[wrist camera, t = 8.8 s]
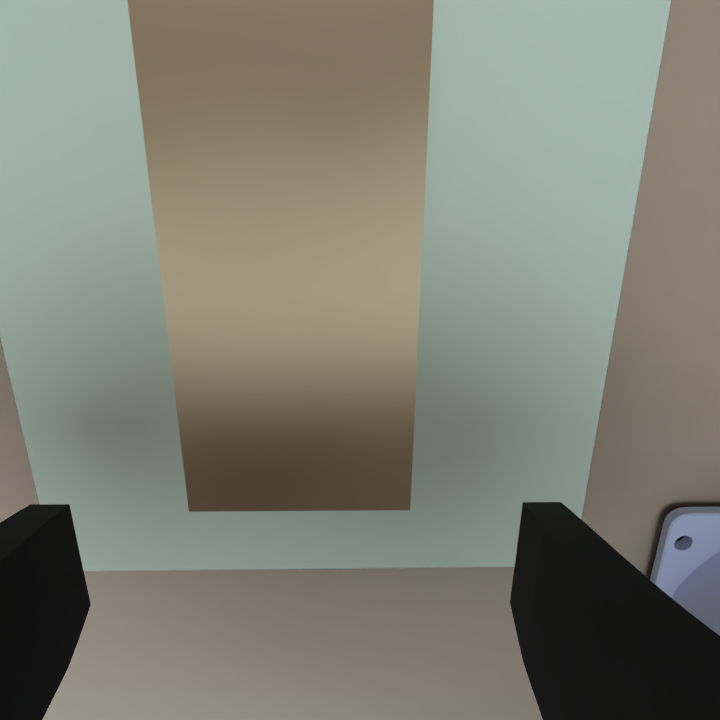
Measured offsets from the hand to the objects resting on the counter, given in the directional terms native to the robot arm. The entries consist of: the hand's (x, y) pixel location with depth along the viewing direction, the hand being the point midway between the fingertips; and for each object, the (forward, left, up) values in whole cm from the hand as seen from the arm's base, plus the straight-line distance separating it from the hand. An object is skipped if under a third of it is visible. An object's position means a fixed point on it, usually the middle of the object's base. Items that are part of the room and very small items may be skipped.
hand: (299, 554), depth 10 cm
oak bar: (+7, 0, -5) cm, 9 cm away
